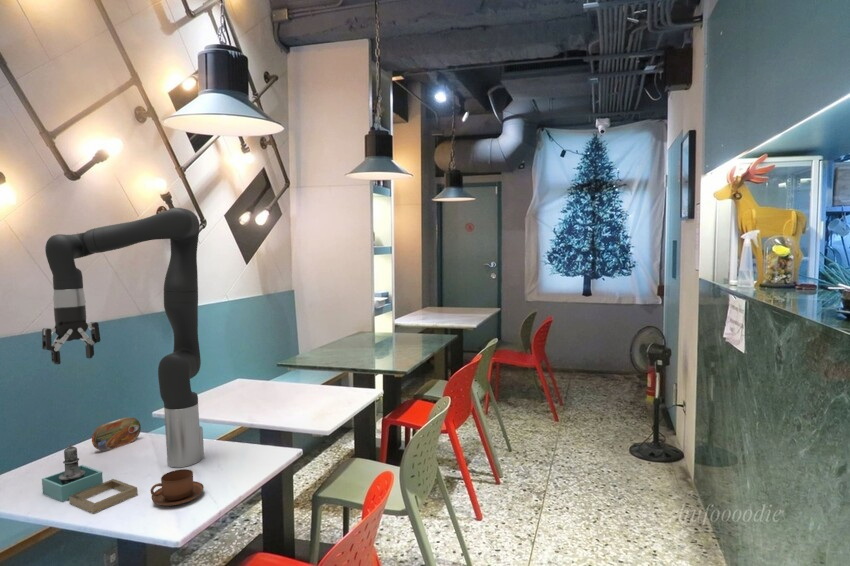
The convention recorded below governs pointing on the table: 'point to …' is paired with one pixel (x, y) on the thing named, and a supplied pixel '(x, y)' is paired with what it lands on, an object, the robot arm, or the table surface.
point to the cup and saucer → (176, 488)
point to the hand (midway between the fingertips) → (73, 361)
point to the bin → (70, 484)
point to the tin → (116, 434)
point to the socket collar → (91, 507)
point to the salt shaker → (71, 466)
